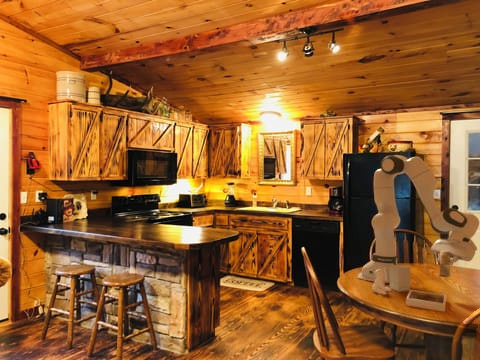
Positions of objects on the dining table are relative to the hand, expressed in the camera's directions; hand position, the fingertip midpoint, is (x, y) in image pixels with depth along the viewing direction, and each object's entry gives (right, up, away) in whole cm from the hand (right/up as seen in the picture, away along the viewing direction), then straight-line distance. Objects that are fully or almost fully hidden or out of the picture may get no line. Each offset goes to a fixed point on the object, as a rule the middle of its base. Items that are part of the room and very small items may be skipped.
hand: (444, 262), depth 188 cm
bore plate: (-13, -17, -9) cm, 23 cm away
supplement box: (-16, -18, +14) cm, 27 cm away
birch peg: (0, -7, 0) cm, 7 cm away
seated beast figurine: (-28, -18, +10) cm, 34 cm away
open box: (-13, -18, -9) cm, 23 cm away
